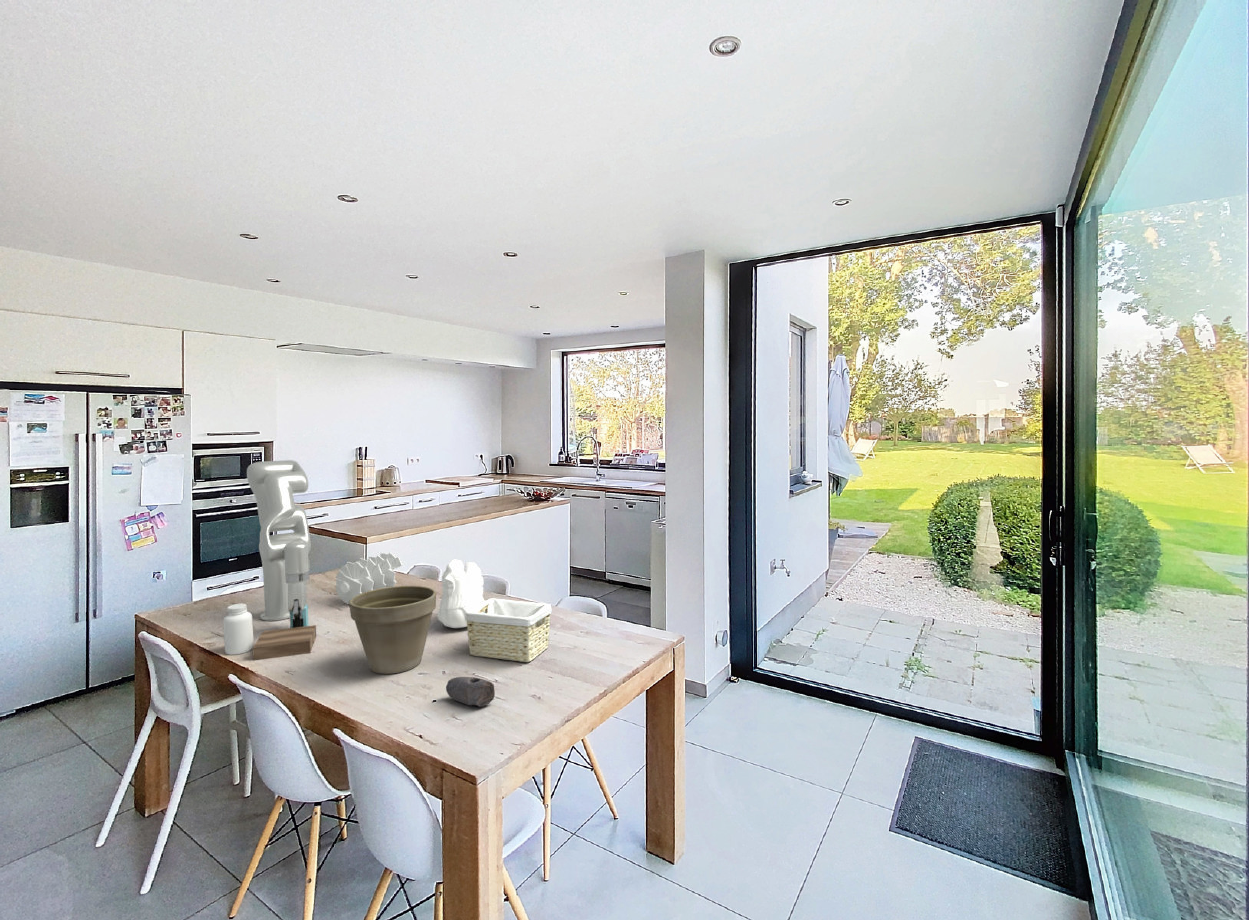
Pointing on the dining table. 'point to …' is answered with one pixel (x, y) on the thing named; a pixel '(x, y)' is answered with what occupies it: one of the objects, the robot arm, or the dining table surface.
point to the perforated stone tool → (471, 690)
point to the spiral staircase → (366, 575)
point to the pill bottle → (238, 630)
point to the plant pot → (393, 625)
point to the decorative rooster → (459, 593)
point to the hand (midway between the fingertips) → (299, 626)
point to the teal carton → (304, 616)
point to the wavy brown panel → (284, 642)
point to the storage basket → (508, 629)
